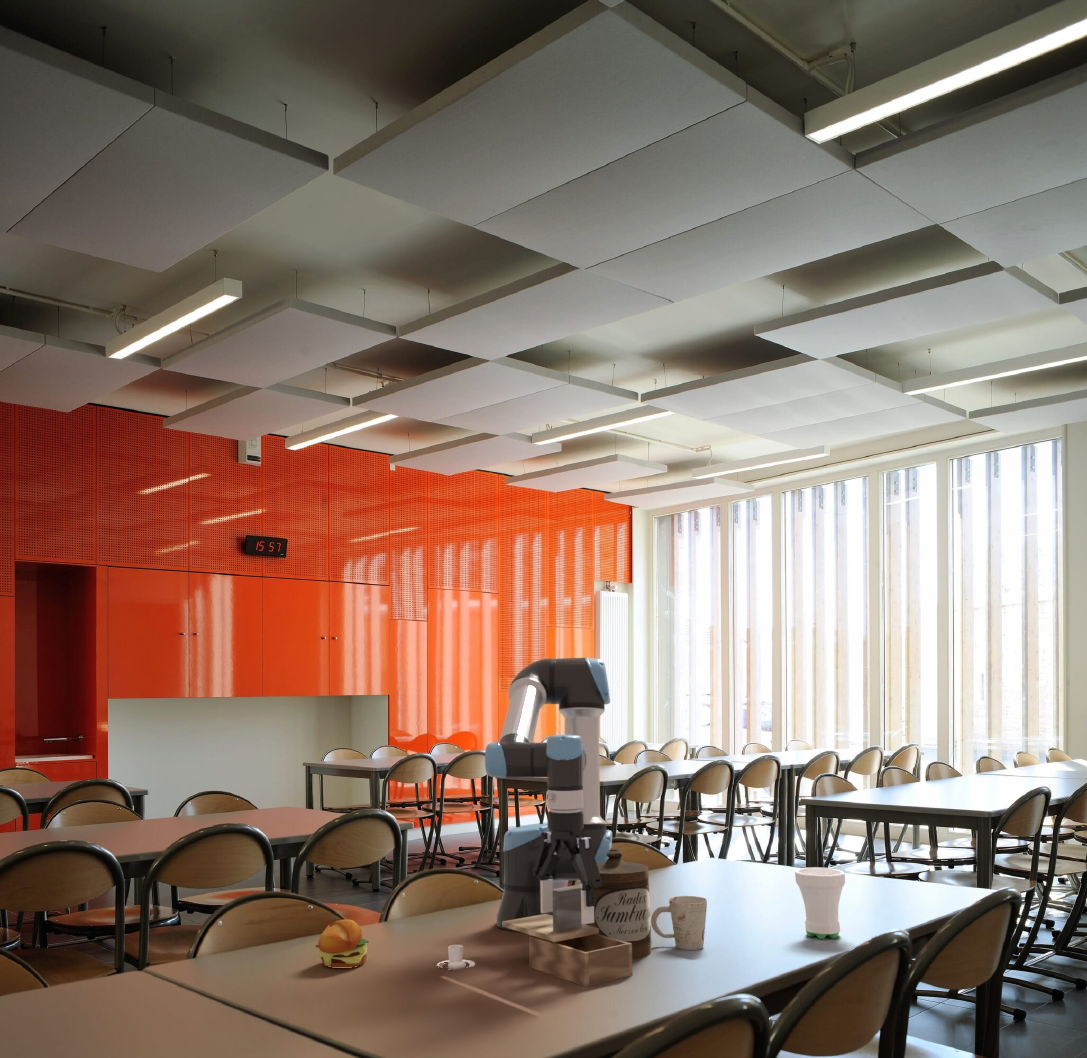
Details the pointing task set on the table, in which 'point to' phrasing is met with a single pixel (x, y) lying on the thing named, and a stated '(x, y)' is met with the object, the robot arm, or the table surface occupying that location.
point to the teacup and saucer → (456, 958)
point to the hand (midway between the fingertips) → (566, 917)
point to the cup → (821, 899)
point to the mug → (684, 921)
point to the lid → (556, 919)
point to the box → (582, 958)
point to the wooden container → (624, 903)
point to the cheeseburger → (342, 944)
